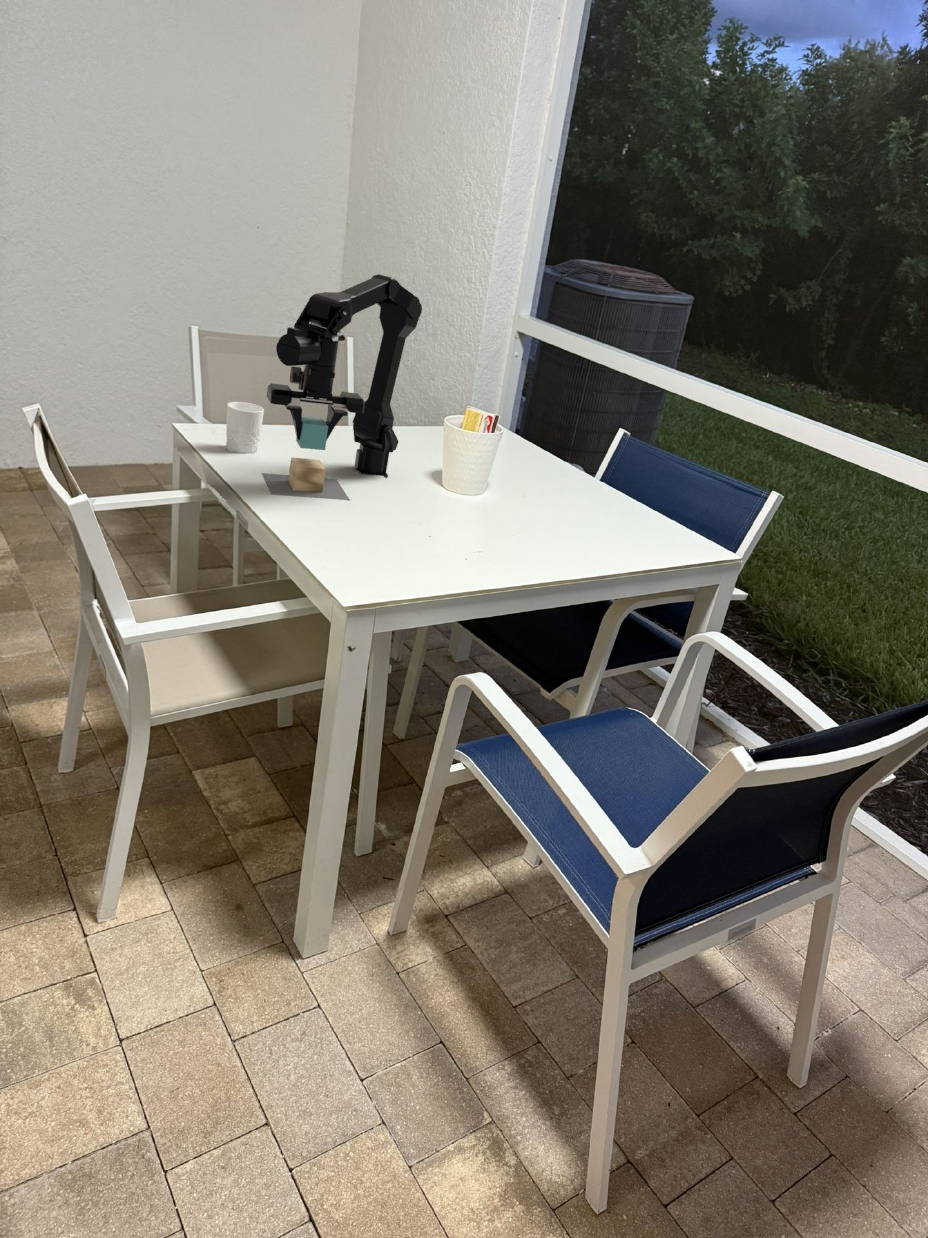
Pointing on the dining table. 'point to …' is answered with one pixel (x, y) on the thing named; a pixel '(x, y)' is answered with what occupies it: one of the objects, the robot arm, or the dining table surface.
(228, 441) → the white cup
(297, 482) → the oak base block
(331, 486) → the build board
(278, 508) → the dining table surface
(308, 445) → the teal cube
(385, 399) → the robot arm
